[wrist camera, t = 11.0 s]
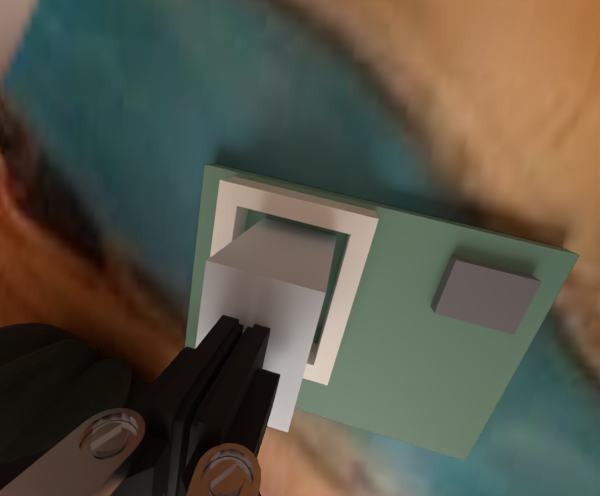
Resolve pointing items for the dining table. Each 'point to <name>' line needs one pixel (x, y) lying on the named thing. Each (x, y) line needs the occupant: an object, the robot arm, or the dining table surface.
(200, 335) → the plug
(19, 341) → the squash
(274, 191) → the frame
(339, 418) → the board
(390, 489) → the dining table surface
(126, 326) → the dining table surface
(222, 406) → the robot arm
